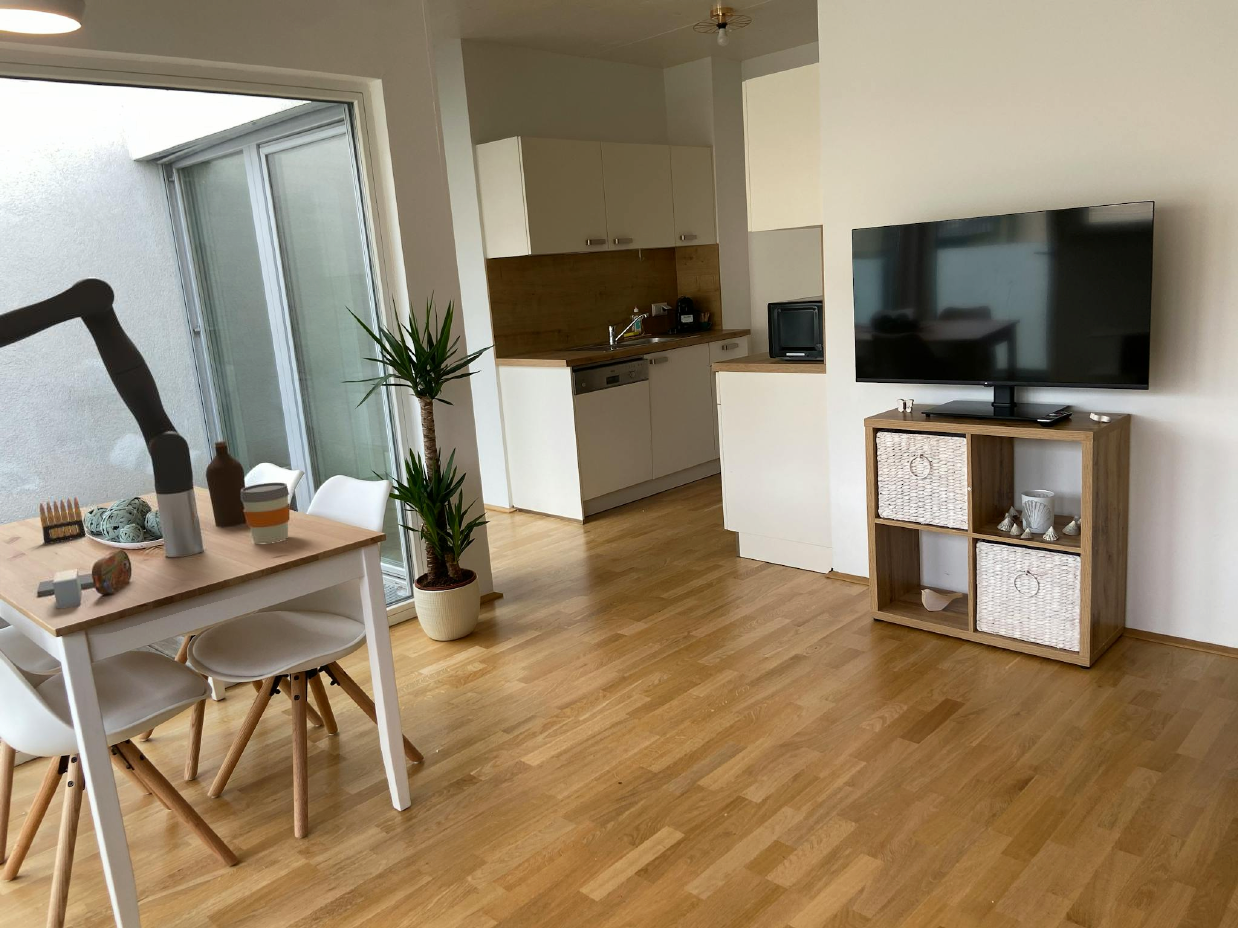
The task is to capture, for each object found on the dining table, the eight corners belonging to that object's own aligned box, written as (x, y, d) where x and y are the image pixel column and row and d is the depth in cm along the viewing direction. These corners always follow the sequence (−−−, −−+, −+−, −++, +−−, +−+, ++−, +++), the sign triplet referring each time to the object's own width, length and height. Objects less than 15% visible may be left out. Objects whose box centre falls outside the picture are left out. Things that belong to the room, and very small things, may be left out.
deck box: (82, 593, 223) (77, 568, 222) (80, 604, 215) (76, 578, 213) (59, 597, 221) (55, 572, 220) (57, 608, 213) (52, 583, 211)
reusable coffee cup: (237, 545, 258) (229, 492, 255) (265, 533, 270) (258, 482, 267) (276, 546, 255) (269, 492, 252) (303, 533, 266) (296, 482, 264)
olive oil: (236, 527, 280) (224, 444, 275) (205, 527, 282) (193, 445, 278) (257, 518, 290) (246, 438, 285) (228, 518, 292) (216, 438, 288)
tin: (107, 598, 218) (101, 563, 217) (93, 599, 218) (87, 564, 216) (134, 578, 233) (129, 545, 231) (121, 579, 233) (116, 547, 231)
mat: (100, 576, 236) (99, 571, 236) (99, 585, 229) (99, 580, 228) (40, 586, 231) (39, 582, 230) (38, 596, 223) (37, 591, 223)
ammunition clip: (45, 543, 274) (37, 504, 272) (44, 542, 276) (36, 503, 274) (86, 536, 281) (79, 497, 278) (85, 535, 282) (78, 496, 280)
